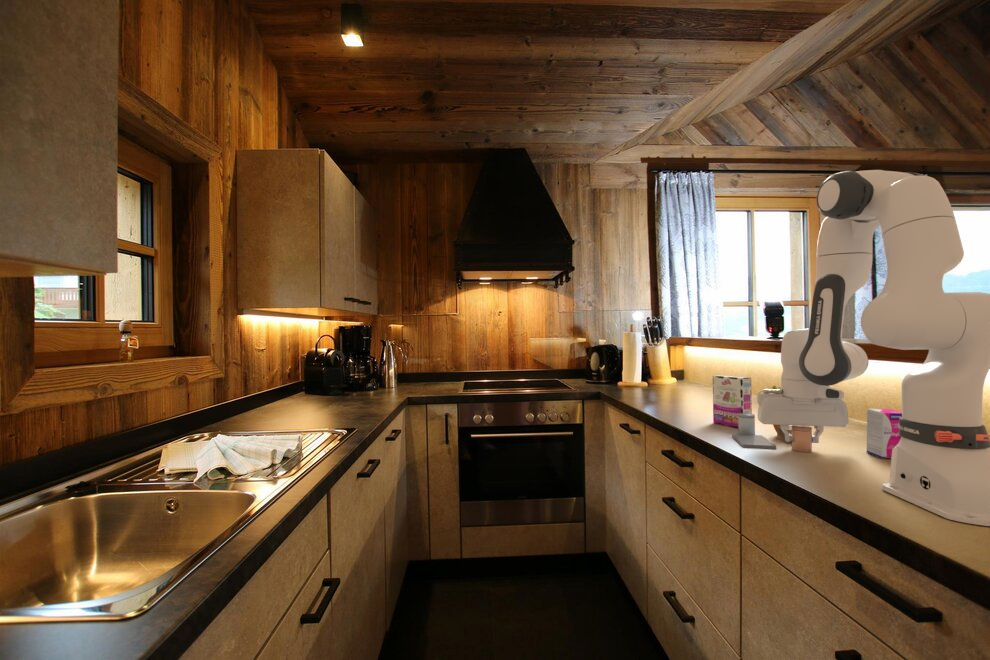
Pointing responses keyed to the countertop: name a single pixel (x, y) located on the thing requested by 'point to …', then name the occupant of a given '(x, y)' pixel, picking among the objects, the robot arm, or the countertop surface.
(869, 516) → the countertop surface
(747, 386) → the candy bar box
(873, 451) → the supplement box
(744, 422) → the grey-blue jar
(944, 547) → the countertop surface
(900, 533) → the countertop surface
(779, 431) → the walnut block
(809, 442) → the terracotta jar
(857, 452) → the countertop surface
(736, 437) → the slate coaster
